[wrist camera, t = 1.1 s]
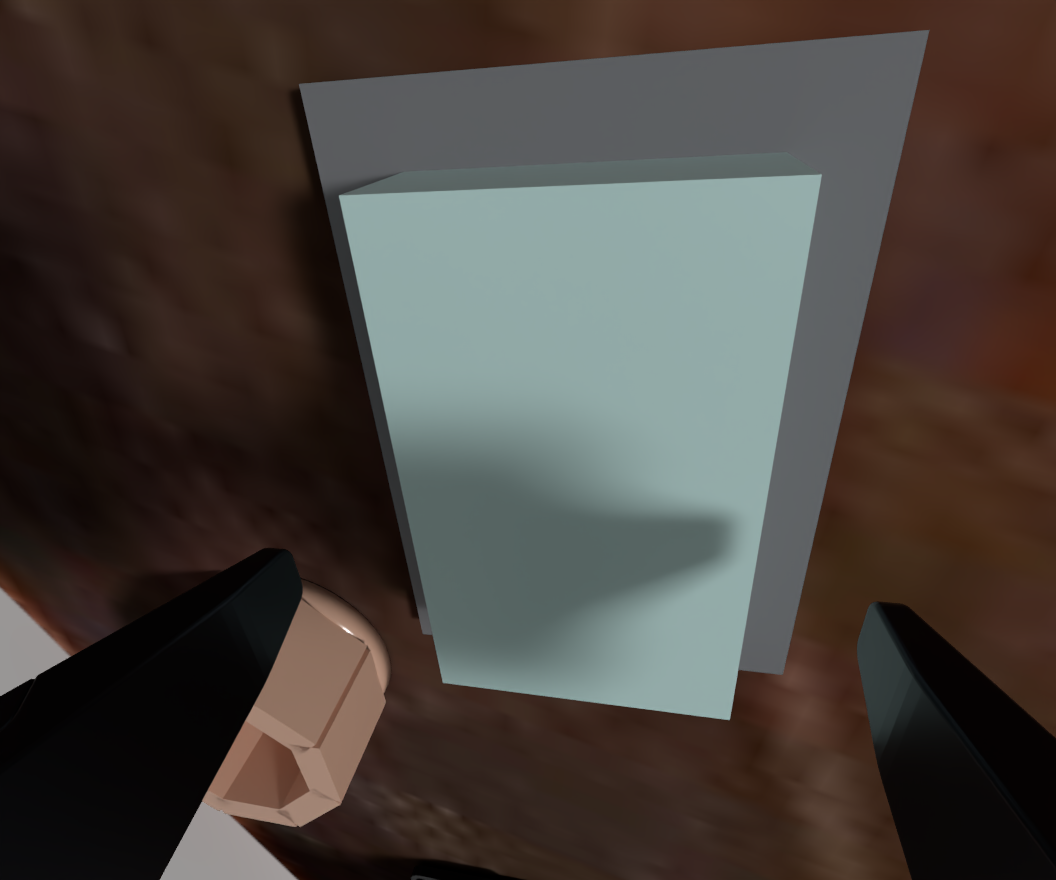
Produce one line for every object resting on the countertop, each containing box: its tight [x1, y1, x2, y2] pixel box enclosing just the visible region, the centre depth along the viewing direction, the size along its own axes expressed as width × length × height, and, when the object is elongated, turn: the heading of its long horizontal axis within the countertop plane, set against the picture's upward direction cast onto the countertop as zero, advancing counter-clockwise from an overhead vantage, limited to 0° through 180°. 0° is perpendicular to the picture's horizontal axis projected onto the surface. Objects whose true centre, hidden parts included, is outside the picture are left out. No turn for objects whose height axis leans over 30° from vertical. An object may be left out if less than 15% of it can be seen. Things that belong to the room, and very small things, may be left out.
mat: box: [299, 30, 929, 675], centre depth 13 cm, size 14×10×1 cm
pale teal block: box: [339, 152, 822, 720], centre depth 12 cm, size 11×7×3 cm, turn 4°
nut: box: [202, 579, 391, 827], centre depth 18 cm, size 7×7×4 cm
